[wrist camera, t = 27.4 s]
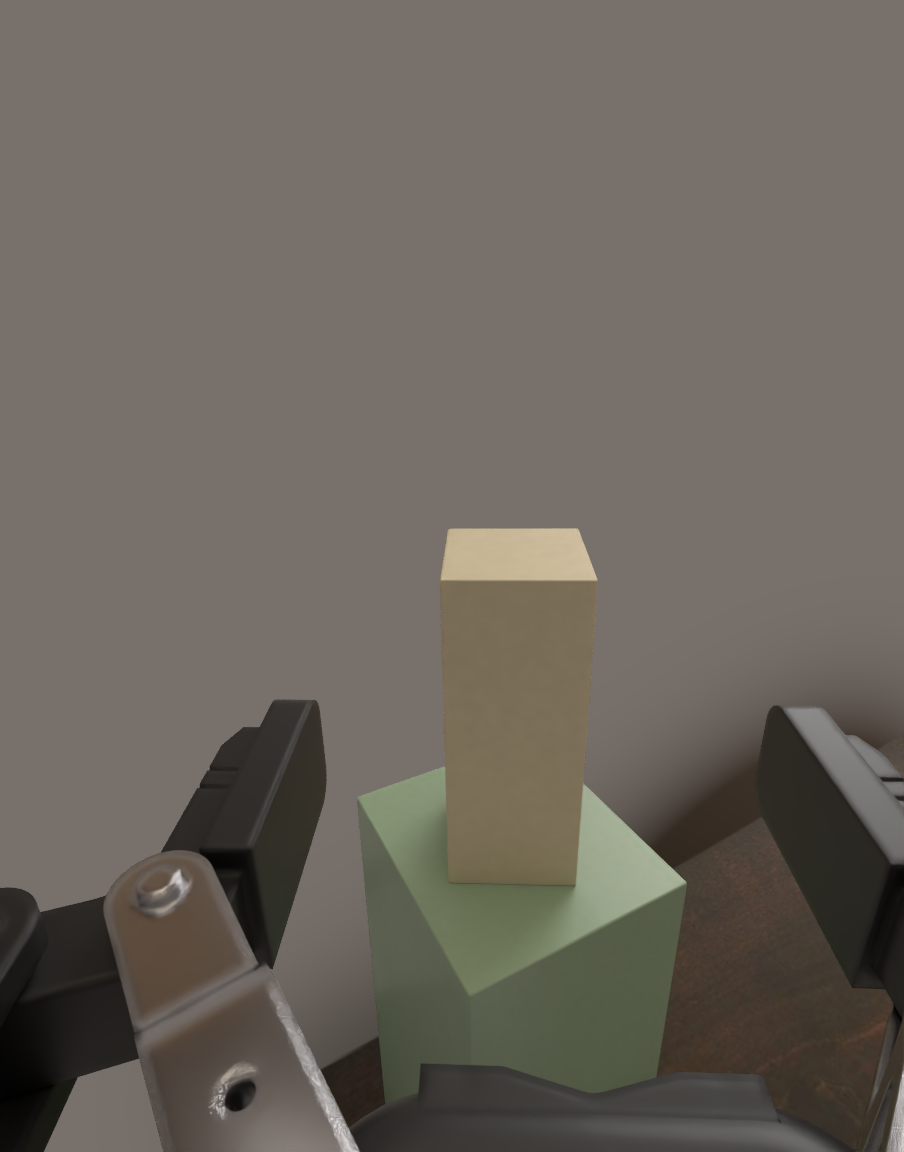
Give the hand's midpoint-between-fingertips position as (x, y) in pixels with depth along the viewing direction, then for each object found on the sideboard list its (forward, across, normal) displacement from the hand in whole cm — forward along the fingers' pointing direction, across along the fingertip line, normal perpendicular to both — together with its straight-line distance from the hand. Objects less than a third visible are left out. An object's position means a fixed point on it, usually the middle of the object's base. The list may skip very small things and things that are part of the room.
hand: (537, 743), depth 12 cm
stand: (+10, 0, +34) cm, 36 cm away
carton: (+10, 0, +12) cm, 16 cm away
